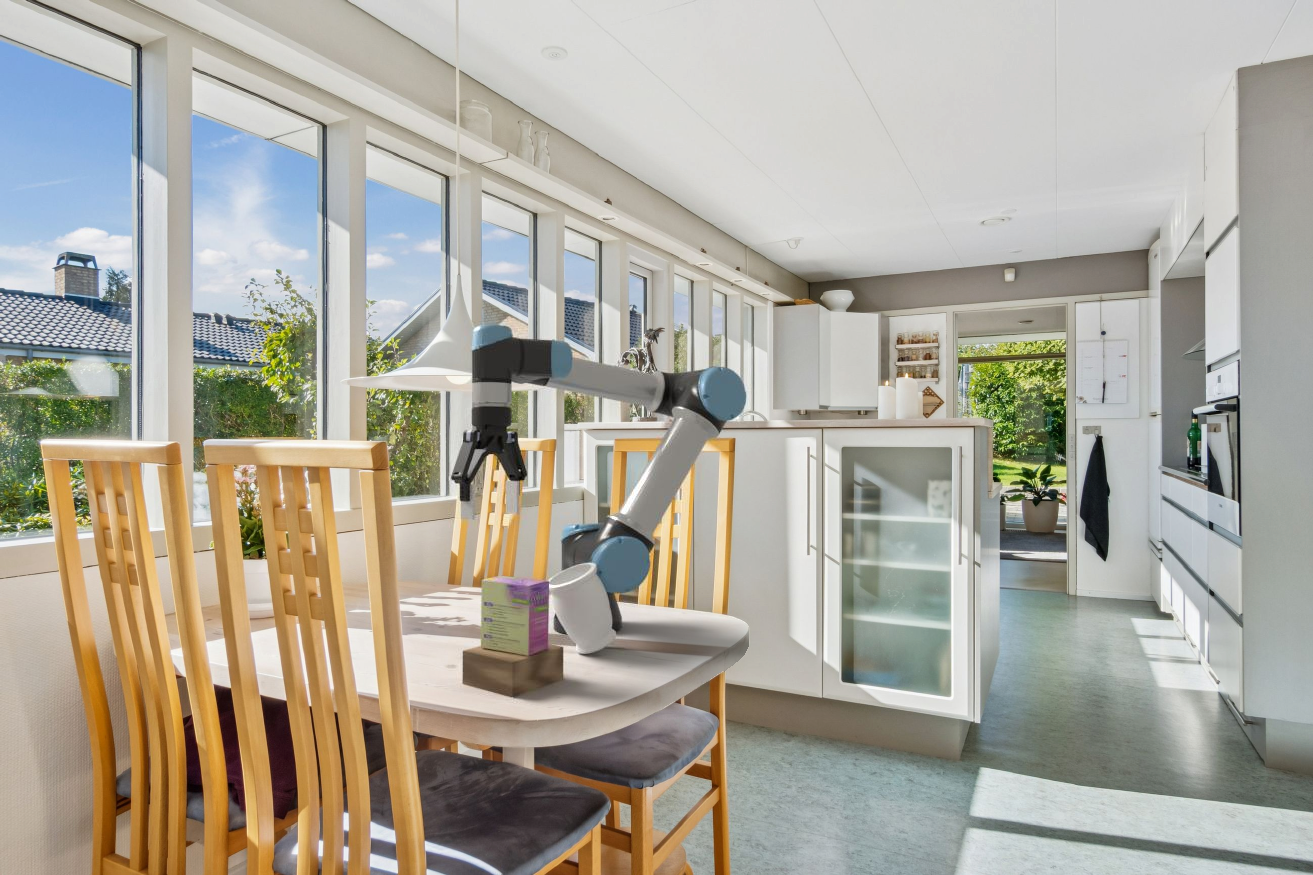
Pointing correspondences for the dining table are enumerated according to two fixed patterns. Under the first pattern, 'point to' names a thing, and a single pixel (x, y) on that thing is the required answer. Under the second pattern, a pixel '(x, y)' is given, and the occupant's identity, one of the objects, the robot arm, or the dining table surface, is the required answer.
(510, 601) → the box
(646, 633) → the dining table surface
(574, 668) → the dining table surface
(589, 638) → the jar
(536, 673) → the base block
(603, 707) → the dining table surface
